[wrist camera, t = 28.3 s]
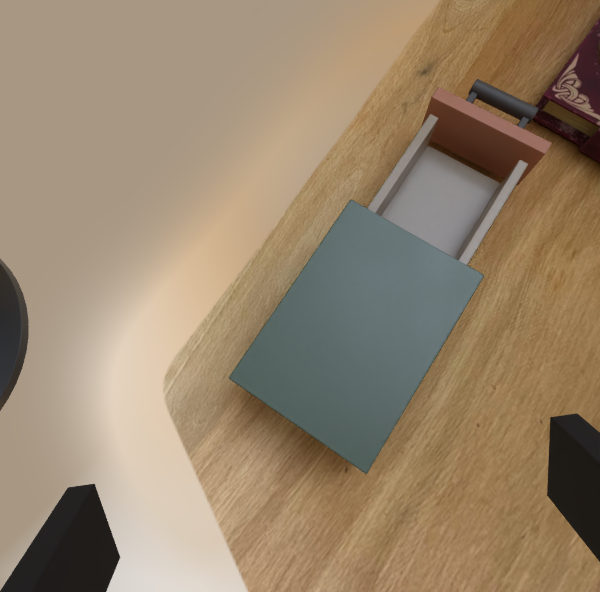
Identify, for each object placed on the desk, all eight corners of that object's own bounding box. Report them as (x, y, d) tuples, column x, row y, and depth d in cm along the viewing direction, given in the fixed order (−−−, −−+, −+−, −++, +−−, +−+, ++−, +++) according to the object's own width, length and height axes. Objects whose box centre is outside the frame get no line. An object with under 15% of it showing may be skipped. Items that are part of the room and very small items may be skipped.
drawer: (445, 93, 43) (462, 51, 38) (544, 141, 41) (575, 104, 36) (339, 252, 39) (341, 229, 34) (440, 313, 38) (458, 299, 32)
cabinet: (346, 232, 41) (350, 198, 34) (456, 297, 39) (485, 274, 32) (245, 382, 38) (228, 378, 31) (358, 460, 36) (366, 474, 29)
